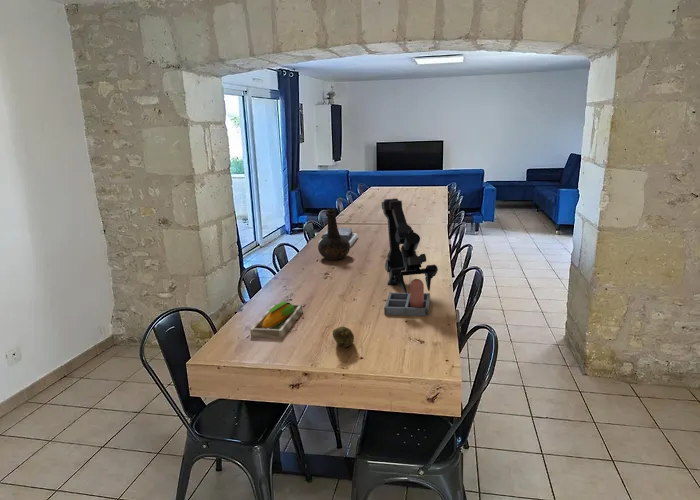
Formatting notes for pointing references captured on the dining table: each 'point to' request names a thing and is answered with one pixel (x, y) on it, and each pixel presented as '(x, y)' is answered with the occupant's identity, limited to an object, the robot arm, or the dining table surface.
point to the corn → (278, 315)
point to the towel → (342, 233)
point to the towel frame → (350, 240)
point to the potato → (343, 336)
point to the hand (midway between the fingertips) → (417, 291)
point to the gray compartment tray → (405, 305)
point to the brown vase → (333, 240)
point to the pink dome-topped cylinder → (416, 294)
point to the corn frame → (275, 333)
